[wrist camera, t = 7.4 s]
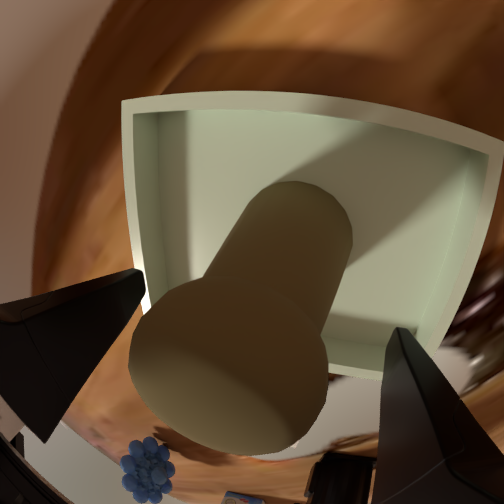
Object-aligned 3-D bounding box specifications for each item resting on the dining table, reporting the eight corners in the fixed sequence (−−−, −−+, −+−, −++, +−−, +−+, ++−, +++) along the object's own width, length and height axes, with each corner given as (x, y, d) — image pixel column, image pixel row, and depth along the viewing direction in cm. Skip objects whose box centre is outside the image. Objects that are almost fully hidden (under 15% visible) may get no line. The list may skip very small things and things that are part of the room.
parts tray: (478, 137, 10) (505, 142, 8) (411, 351, 16) (415, 384, 14) (155, 100, 15) (121, 100, 12) (167, 298, 21) (145, 321, 18)
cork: (359, 186, 13) (375, 367, 3) (345, 294, 15) (312, 492, 6) (238, 177, 14) (58, 289, 5) (241, 280, 17) (134, 435, 8)
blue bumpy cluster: (203, 466, 37) (174, 520, 27) (175, 460, 40) (147, 508, 30) (160, 429, 34) (120, 489, 24) (134, 424, 38) (97, 475, 27)
